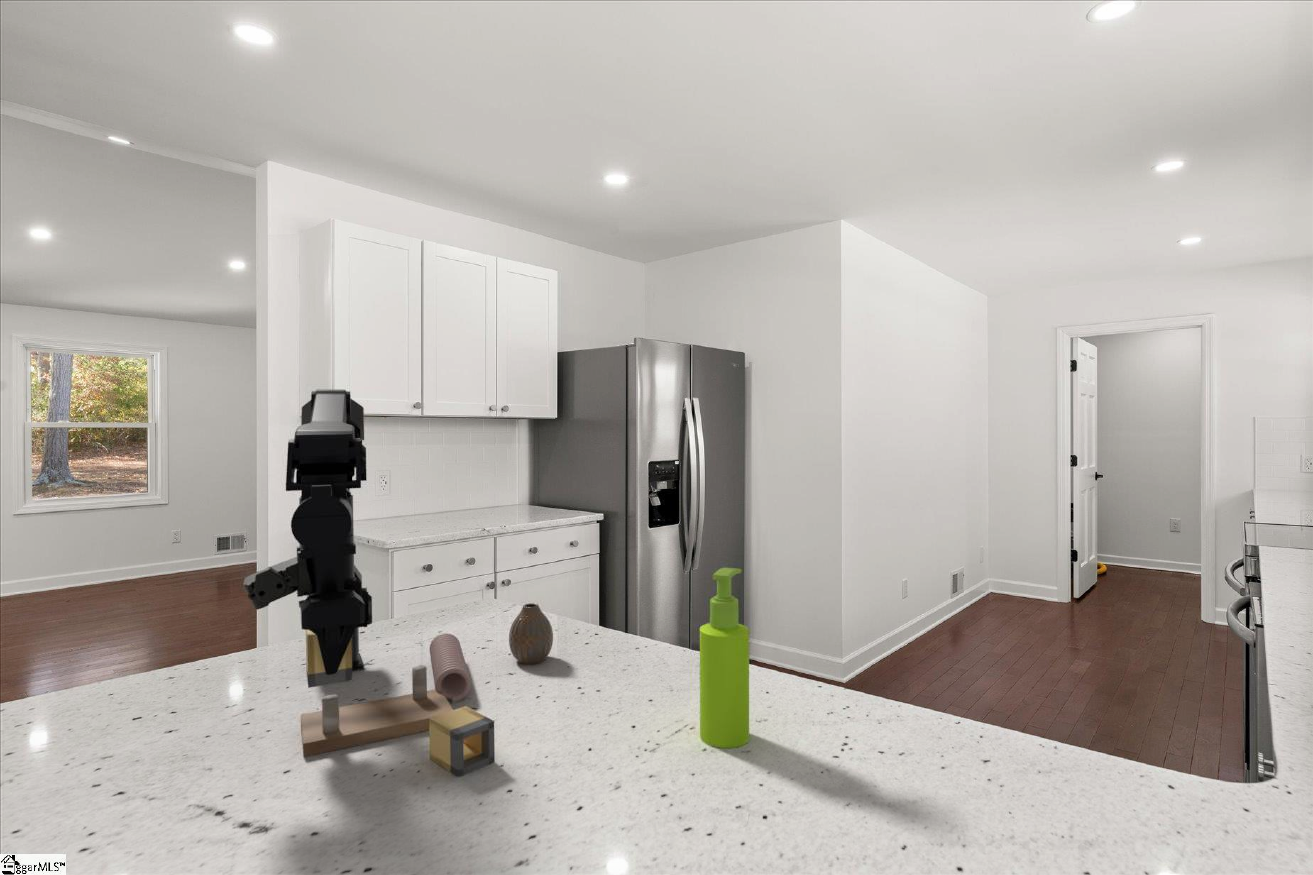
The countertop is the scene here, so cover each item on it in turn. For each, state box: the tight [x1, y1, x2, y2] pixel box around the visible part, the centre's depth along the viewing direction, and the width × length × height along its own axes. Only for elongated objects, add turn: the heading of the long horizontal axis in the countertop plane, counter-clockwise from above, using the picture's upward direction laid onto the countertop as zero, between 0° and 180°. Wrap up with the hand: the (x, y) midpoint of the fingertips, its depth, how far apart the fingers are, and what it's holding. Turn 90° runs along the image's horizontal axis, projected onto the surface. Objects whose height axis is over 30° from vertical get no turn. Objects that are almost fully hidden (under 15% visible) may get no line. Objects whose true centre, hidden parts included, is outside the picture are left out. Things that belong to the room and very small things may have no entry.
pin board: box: [300, 665, 454, 758], centre depth 88 cm, size 9×17×6 cm, turn 119°
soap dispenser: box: [699, 567, 750, 749], centre depth 84 cm, size 6×7×20 cm
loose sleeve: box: [305, 630, 353, 689], centre depth 83 cm, size 5×5×6 cm
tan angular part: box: [428, 705, 496, 778], centre depth 79 cm, size 5×5×6 cm
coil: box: [429, 633, 472, 704], centre depth 103 cm, size 5×5×18 cm
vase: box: [508, 602, 554, 665], centre depth 111 cm, size 7×7×9 cm
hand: (329, 667), depth 83 cm, fingers closed on loose sleeve, 5 cm apart
